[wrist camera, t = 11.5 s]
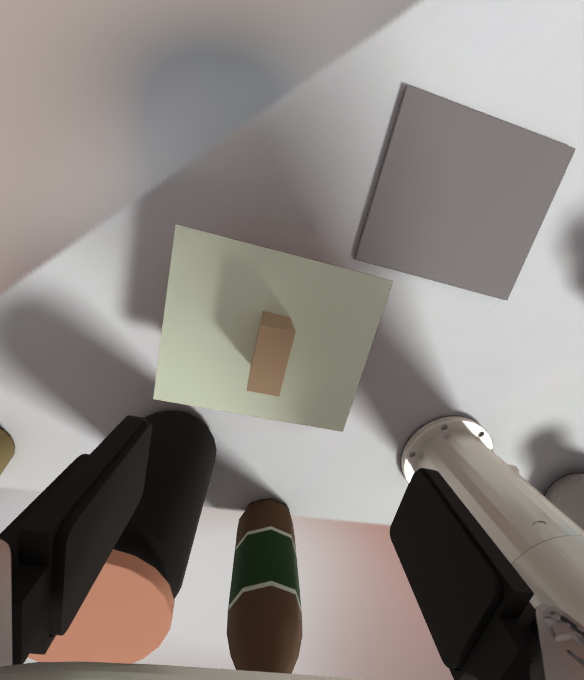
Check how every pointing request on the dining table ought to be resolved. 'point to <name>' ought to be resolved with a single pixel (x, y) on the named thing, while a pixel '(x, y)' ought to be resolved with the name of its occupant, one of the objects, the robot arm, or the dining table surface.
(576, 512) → the coffee pot
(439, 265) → the mat
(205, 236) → the lid
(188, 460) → the coffee jar
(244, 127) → the dining table surface
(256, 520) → the beer bottle
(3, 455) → the squeeze bottle
